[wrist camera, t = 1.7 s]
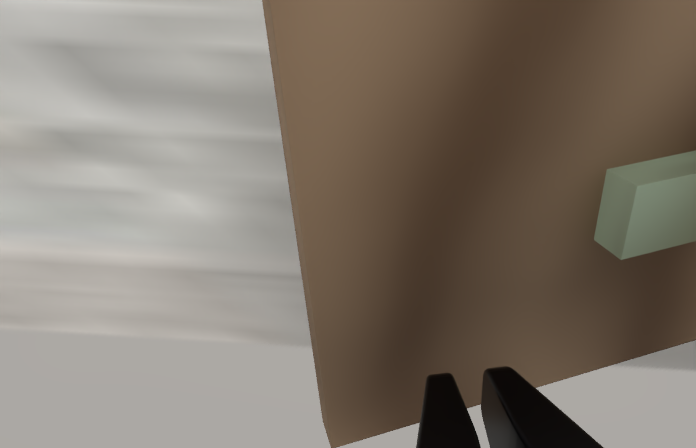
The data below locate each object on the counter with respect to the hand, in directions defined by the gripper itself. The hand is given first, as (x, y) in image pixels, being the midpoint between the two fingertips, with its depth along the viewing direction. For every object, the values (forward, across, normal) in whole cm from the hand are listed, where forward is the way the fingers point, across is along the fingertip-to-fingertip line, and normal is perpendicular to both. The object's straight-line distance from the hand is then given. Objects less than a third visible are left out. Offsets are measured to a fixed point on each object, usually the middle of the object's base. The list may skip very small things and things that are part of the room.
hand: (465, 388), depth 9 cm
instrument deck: (+7, -8, 0) cm, 11 cm away
